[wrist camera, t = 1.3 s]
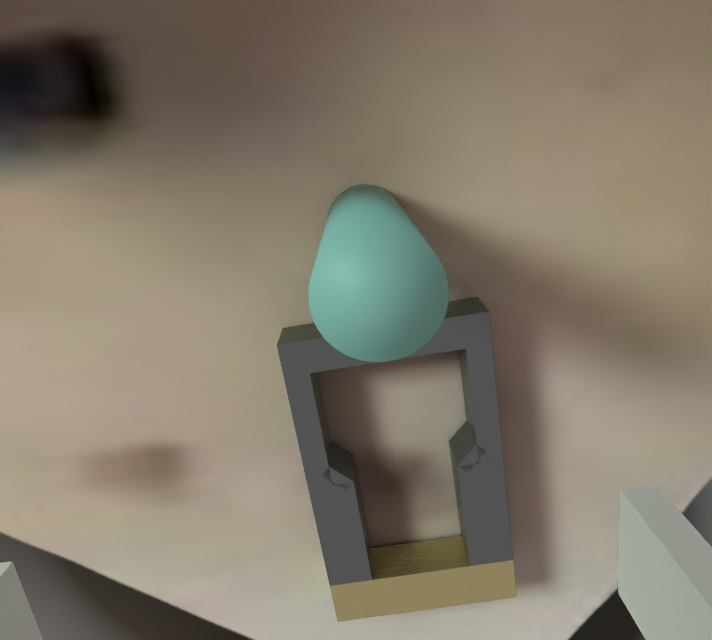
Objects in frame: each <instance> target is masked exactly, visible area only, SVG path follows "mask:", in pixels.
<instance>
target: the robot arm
mask: <svg viewBox="0 0 712 640" xmlns="http://www.w3.org/2000/svg"><path fill="white" fill-rule="evenodd" d="M618 593H619V595H620V597H621V598H622V600H623V602H624V604H625V605H626V607H627V608H628V610H629V612H630V613H631V615H632V617H633V619H634V620H635V622H636V624H637V626H638V627H639V629H640V630H641V632H642V634H643V636H644V637H645V639H646V640H712V547H711V546H710V545H709V544H708V543H707V542H706V540H705V539H704V538H703V537H702V536H701V535H700V534H699V532H697V530H696V529H695V528H694V527H693V526H692V524H691V523H690V522H689V521H688V520H687V519H686V518H685V517H684V515H683V514H682V513H681V512H680V511H679V510H678V509H677V507H676V506H675V505H674V504H673V503H672V502H671V501H670V499H669V498H668V497H667V496H666V495H665V494H664V493H663V492H662V490H661V489H660V488H659V487H658V486H657V485H655V486H646V487H638V488H630V489H621V490H620V539H619V591H618ZM0 640H43V639H42V637H41V634H40V631H39V629H38V626H37V624H36V621H35V619H34V616H33V614H32V611H31V608H30V606H29V603H28V601H27V598H26V596H25V593H24V590H23V588H22V586H21V583H20V580H19V578H18V575H17V573H16V570H15V568H14V565H13V562H5V563H0Z"/></svg>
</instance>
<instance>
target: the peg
mask: <svg viewBox="0 0 712 640" xmlns="http://www.w3.org/2000/svg"><path fill="white" fill-rule="evenodd" d="M308 300H309V308H310V312H311V315H312V318H313V321H314V323H315V325H316V327H317V329H318V330H319V332H320V333H321V335H322V336H323V337H324V338H325V340H326V341H327V342H328V343H329V344H330V345H332V346H333V347H334V348H336V349H337V350H338V351H340V352H342V353H343V354H345V355H347V356H350V357H352V358H355V359H358V360H362V361H368V362H388V361H393V360H398V359H400V358H403V357H406V356H408V355H410V354H412V353H414V352H416V351H417V350H419V349H420V348H422V347H423V346H424V345H425V344H426V343H428V342H429V340H430V339H431V338H432V337H433V336H434V335H435V333H436V332H437V331H438V329H439V328H440V326H441V324H442V322H443V320H444V317H445V314H446V311H447V307H448V301H449V285H448V280H447V276H446V273H445V270H444V267H443V265H442V263H441V261H440V259H439V258H438V256H437V255H436V254H435V252H434V251H433V249H432V248H431V247H430V245H429V244H428V243H427V241H426V240H425V239H424V237H423V236H422V234H421V233H420V232H419V230H418V229H417V228H416V226H415V225H414V224H413V222H412V221H411V220H410V218H409V217H408V216H407V214H406V213H405V211H404V210H403V209H402V207H401V206H400V205H399V203H398V202H397V201H396V199H395V198H394V197H393V196H392V195H391V194H390V193H389V192H388V191H386V190H384V189H383V188H380V187H378V186H375V185H367V184H363V185H357V186H353V187H351V188H349V189H347V190H345V191H344V192H342V193H341V194H340V195H339V196H338V197H337V198H336V199H335V201H334V202H333V204H332V206H331V208H330V210H329V214H328V217H327V221H326V225H325V228H324V232H323V235H322V239H321V243H320V246H319V250H318V254H317V257H316V261H315V264H314V268H313V272H312V275H311V279H310V283H309V290H308Z"/></svg>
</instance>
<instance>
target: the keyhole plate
mask: <svg viewBox="0 0 712 640" xmlns="http://www.w3.org/2000/svg"><path fill="white" fill-rule="evenodd" d="M277 348H278V353H279V357H280V362H281V366H282V371H283V375H284V380H285V384H286V389H287V393H288V398H289V402H290V407H291V412H292V416H293V421H294V425H295V430H296V434H297V439H298V443H299V448H300V452H301V457H302V461H303V466H304V471H305V475H306V480H307V484H308V489H309V493H310V498H311V502H312V507H313V511H314V516H315V520H316V525H317V530H318V534H319V539H320V543H321V548H322V552H323V557H324V561H325V566H326V570H327V575H328V579H329V584H330V589H331V593H332V598H333V602H334V607H335V611H336V616H337V620H338V622H339V621H347V620H354V619H361V618H368V617H375V616H383V615H390V614H397V613H404V612H412V611H419V610H426V609H433V608H440V607H448V606H455V605H462V604H469V603H476V602H484V601H491V600H498V599H505V598H512V597H517V595H516V585H515V575H514V564H513V554H512V544H511V533H510V523H509V512H508V502H507V492H506V481H505V471H504V461H503V450H502V440H501V430H500V419H499V409H498V399H497V388H496V378H495V367H494V357H493V347H492V336H491V326H490V316H489V311H488V310H487V308H486V307H485V306H484V305H483V303H482V302H481V301H480V300H479V298H478V297H475V298H469V299H462V300H456V301H450V302H448V307H447V311H446V314H445V317H444V320H443V322H442V324H441V326H440V328H439V329H438V331H437V332H436V333H435V335H434V336H433V337H432V338H431V339H430V340H429V342H428V343H426V344H425V345H424V346H423V347H422V348H420V349H419V350H417V351H416V352H414V353H412V354H410V355H408V356H406V357H403V358H400V359H405V358H412V357H418V356H424V355H431V354H437V353H443V352H450V351H456V350H459V358H460V366H461V375H462V384H463V392H464V401H465V409H466V418H467V421H466V422H465V423H464V425H463V426H462V427H461V428H460V429H459V430H458V432H457V433H456V434H455V435H454V436H453V437H452V439H451V440H450V441H449V444H450V451H451V459H452V467H453V475H454V483H455V490H456V498H457V506H458V514H459V521H460V529H461V535H460V536H453V537H446V538H439V539H432V540H425V541H418V542H412V543H405V544H398V545H391V546H384V547H377V548H370V542H369V537H368V532H367V526H366V521H365V516H364V511H363V505H362V500H361V495H360V489H359V484H358V479H357V473H356V468H355V463H354V457H353V455H351V454H350V453H348V452H347V451H345V450H343V449H342V448H340V447H339V446H337V445H335V444H334V443H332V442H331V441H330V437H329V432H328V427H327V422H326V417H325V412H324V407H323V402H322V397H321V392H320V387H319V382H318V377H317V372H322V371H328V370H335V369H341V368H348V367H354V366H360V365H367V364H373V363H380V362H368V361H362V360H358V359H355V358H352V357H350V356H347V355H345V354H343V353H342V352H340V351H338V350H337V349H336V348H334V347H333V346H332V345H330V344H329V343H328V342H327V341H326V340H325V338H324V337H323V336H322V335H321V333H320V332H319V330H318V329H317V327H316V325H315V323H312V324H306V325H300V326H293V327H287V328H283V329H282V332H281V335H280V338H279V341H278V343H277ZM398 360H399V359H398Z"/></svg>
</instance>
